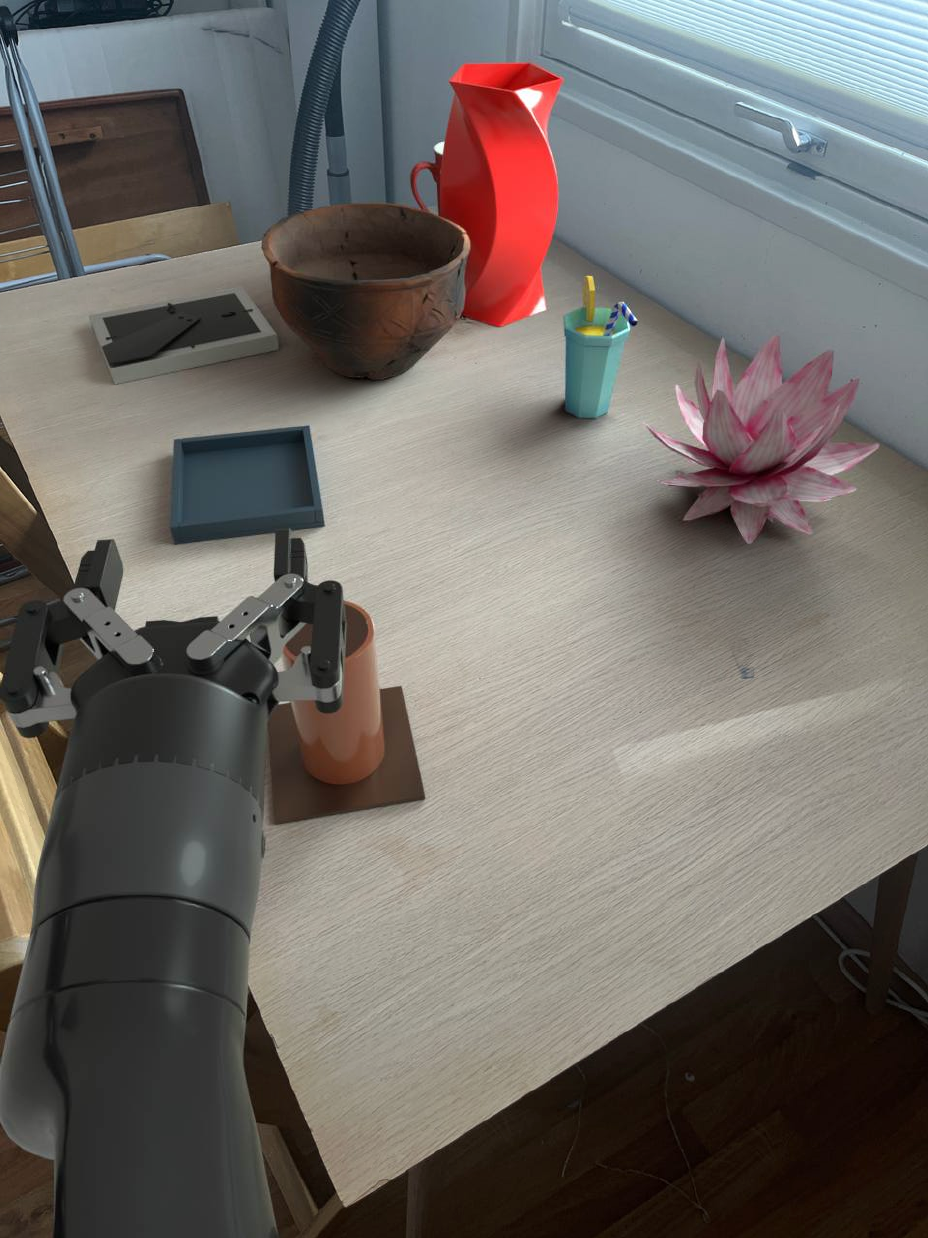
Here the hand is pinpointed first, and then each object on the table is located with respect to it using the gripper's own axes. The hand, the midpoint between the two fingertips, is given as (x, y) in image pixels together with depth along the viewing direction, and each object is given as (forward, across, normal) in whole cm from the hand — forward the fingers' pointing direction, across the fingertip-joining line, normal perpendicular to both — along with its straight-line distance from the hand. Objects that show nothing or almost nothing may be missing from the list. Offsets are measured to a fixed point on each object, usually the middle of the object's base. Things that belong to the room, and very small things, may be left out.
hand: (198, 547), depth 44 cm
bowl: (+69, -11, +27) cm, 75 cm away
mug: (+106, -25, +28) cm, 112 cm away
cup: (+53, -35, +27) cm, 69 cm away
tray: (+42, +4, +27) cm, 50 cm away
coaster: (+7, -5, +27) cm, 28 cm away
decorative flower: (+34, -47, +27) cm, 64 cm away
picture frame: (+76, +14, +28) cm, 82 cm away
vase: (+83, -28, +27) cm, 91 cm away
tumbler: (+6, -5, +26) cm, 28 cm away
